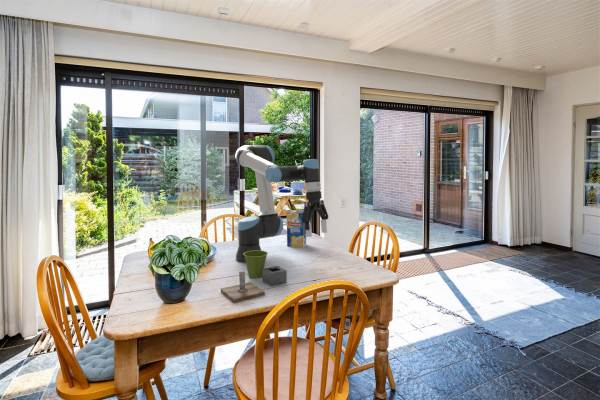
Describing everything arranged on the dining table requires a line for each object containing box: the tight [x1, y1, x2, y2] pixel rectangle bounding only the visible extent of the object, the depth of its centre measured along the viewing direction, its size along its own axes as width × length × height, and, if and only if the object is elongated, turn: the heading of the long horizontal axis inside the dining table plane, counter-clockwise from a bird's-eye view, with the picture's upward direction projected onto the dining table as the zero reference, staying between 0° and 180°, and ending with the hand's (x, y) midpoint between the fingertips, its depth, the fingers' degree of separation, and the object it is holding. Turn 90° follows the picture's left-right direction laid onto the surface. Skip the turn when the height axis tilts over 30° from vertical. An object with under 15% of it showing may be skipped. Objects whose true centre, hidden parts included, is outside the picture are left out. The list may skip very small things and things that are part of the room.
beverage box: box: [286, 210, 307, 248], centre depth 231 cm, size 7×11×22 cm, turn 73°
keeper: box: [220, 270, 266, 304], centre depth 152 cm, size 14×14×10 cm
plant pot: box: [243, 249, 269, 279], centre depth 175 cm, size 12×12×11 cm
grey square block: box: [262, 265, 288, 288], centre depth 166 cm, size 8×8×6 cm
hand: (317, 234), depth 175 cm, fingers open, 13 cm apart
